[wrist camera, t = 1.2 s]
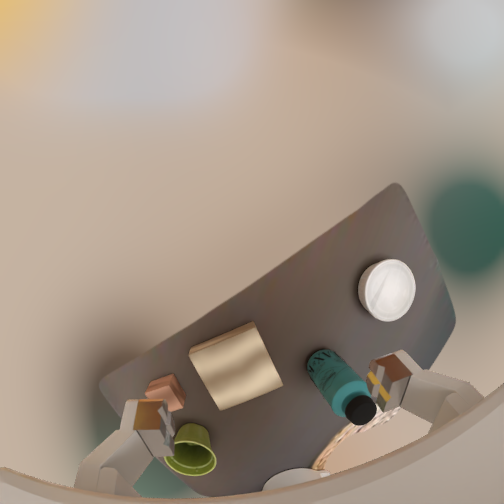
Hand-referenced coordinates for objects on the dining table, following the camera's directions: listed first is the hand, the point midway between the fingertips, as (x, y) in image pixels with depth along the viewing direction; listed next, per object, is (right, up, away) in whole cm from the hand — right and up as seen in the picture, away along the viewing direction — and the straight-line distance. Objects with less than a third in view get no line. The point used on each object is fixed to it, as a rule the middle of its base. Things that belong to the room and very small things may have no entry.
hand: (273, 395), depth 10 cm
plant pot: (-13, -31, +39) cm, 51 cm away
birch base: (-4, -14, +39) cm, 42 cm away
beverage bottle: (+12, -15, +41) cm, 45 cm away
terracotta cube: (-16, -20, +38) cm, 46 cm away
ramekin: (+23, -1, +41) cm, 48 cm away
